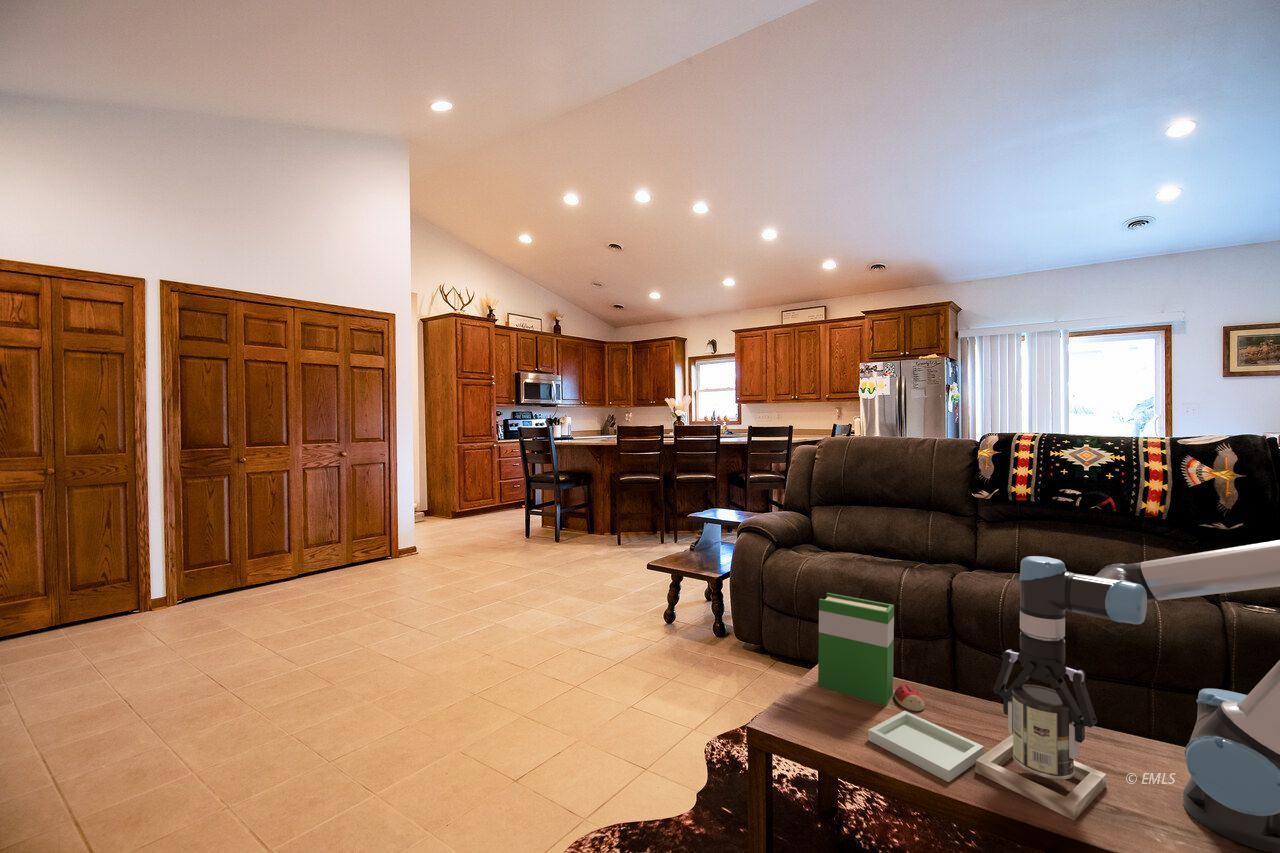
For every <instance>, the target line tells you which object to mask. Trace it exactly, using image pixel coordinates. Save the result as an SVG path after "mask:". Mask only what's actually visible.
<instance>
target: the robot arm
mask: <svg viewBox="0 0 1280 853" xmlns="http://www.w3.org/2000/svg"><path fill="white" fill-rule="evenodd" d="M1019 570H1020V571H1019V578H1018V580H1019V603H1020V604H1019V605H1020V606H1019V629H1020V631H1019V632H1020V633H1019V648H1020V649H1019V652H1015V651H1014V650H1013V649H1009V648H1008V649H1007V650H1004V651H1003V652H1002V664H1001V665H1000V670H999V672H998V674H997V679H996V680H995V684H994V687H993V688H992V690H993V693H994V694H995V695H999V696H1000V697H1001V698H1002V700H1003V701H1002V702H1003V703H1002V708H1003V709H1002V710H1003V714H1004V715H1006V716H1007V733H1008V734H1010V735H1013V694H1012V688H1014V689H1016V690H1017V689H1019V688H1021V687H1022V686H1023V685H1024V684H1026V683H1027V681H1028V680H1029V678H1031V679H1032V680H1037V681H1041V682H1043V683H1045V684H1048V685H1049V684H1050V685H1051V687H1052V688H1051V689H1054V690H1055V691H1056V692H1057V694H1058V696H1059V698H1060V699H1061V701H1062V703H1063V705H1064V706H1067V707H1069V711H1068V714H1069V715H1070V717H1071V719H1072V722H1071V723H1070V724H1069V758H1072V759H1074V760H1075V759H1076V758H1077V757H1078V756H1079V755H1080V744H1082V743H1083V742H1084V741H1085V738H1086V727H1088V728H1092V727H1094V726H1095V725H1096V724H1097V723H1098V719H1097V716H1096V713H1095V709H1094V707H1093V704H1092V701H1091V698H1090V695H1089V692H1088V691H1089V690H1088V688H1087V685H1086V672H1085V671H1084V670H1082V669H1079V670H1076V669H1075V668H1074V669H1073V668H1072V667H1071V668H1070V667H1068V665H1067V663H1066V662H1067V661H1066V639H1065V637H1066V611H1067V612H1070V613H1071V612H1072V613H1077V614H1080V615H1081V614H1082V615H1086V616H1091V617H1096V618H1099V619H1104V620H1109V621H1113V622H1116V623H1125V624H1132V625H1141V624H1142V623H1144V622H1145V619H1146V616H1147V611H1148V610H1147V608H1148V603H1152V602H1159V601H1165V600H1173V599H1174V600H1175V599H1182V598H1192V597H1200V596H1208V595H1216V594H1225V593H1226V594H1227V593H1234V592H1242V591H1243V592H1244V591H1251V590H1253V591H1254V590H1260V589H1270V588H1276V587H1277V588H1278V587H1280V539H1277V540H1271V541H1266V542H1259V543H1251V544H1245V545H1238V546H1234V547H1227V548H1221V549H1215V550H1208V551H1202V552H1196V553H1190V554H1184V555H1178V556H1172V557H1171V556H1170V557H1165V558H1157V559H1152V560H1147V561H1146V560H1145V561H1142V562H1135V563H1134V562H1133V563H1128V564H1125V563H1114V564H1110V565H1107V566H1104V567H1103V568H1101V569H1100V570H1099V571H1098V572H1097V573H1096V574H1095V575H1087V574H1080V573H1074V572H1071V571H1067V568H1066V565H1065V563H1064V562H1063V561H1062V560H1061V559H1058V558H1054V557H1053V558H1052V557H1048V556H1042V555H1041V556H1040V555H1039V556H1038V555H1036V556H1035V555H1033V556H1031V555H1030V556H1026V557H1023V558H1022V559H1021V561H1020V568H1019ZM1017 660H1018V662H1019V663H1020V665H1021V666H1022V667H1023V670H1021V672H1020V673H1018V675H1017V678H1015V680H1014V681H1013V682H1012V684H1011V685H1009V687H1008V688H1007V689H1006V685H1007V683H1008V680H1009V678H1010V675H1011V672H1012V670H1013V667H1014V663H1015V662H1017ZM1065 675H1068V677H1069V681H1071V682H1072V687H1073V690H1074V694H1075V697H1076V698H1077V700H1075V699H1074V697H1073V695H1072V693H1071V692H1070V690H1069V688H1068V686H1067V682H1066V681H1065V679H1064V677H1063V676H1065ZM1076 701H1077V702H1076ZM1077 703H1078V704H1077ZM1196 703H1197V717H1196V721H1195V725H1194V729H1193V731H1192V733H1191V736H1190V739H1189V742H1188V743H1187V744H1186V746H1185V750H1184V757H1185V764H1186V767H1187V770H1188V772H1189V776H1190V778H1189V779H1188V781H1187V783H1186V785H1185V787H1184V789H1183V790H1182V791H1183V793H1182V805H1183V808H1184V809H1185V811H1186V812H1187V813H1188V814H1189V815H1190V816H1191V817H1192V818H1194V819H1195V820H1196V821H1197V822H1199V823H1200V824H1201V825H1203V826H1204V827H1206V828H1208V829H1209V830H1212V831H1213V832H1214V833H1216V834H1219V835H1220V836H1223V837H1225V838H1227V839H1229V840H1231V841H1234V842H1236V843H1238V844H1241V845H1245V846H1246V847H1249V848H1253V849H1256V850H1259V851H1263V852H1267V853H1280V659H1279V660H1278V661H1277V662H1276V664H1275V665H1274V666H1273V667H1272V668H1271V669H1270V670H1269V671H1268V672H1267V673H1266V674H1265V676H1264V677H1263V678H1262V679H1261V680H1260V681H1259V682H1258V683H1257V684H1256V685H1255V686H1254V688H1252V690H1251V691H1250V692H1249V693H1248V694H1243V693H1239V692H1235V691H1230V690H1225V689H1219V688H1202V689H1200V690H1199V692H1198V696H1197V699H1196Z"/></svg>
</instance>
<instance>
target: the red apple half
mask: <svg viewBox="0 0 1280 853" xmlns="http://www.w3.org/2000/svg"><path fill="white" fill-rule="evenodd" d="M893 697H894V700H895V702H897V704H899V705H900V706H901V707H903V708H904V709H906V710H909V711H913V712H920V711H922V710H924V709H925V706H926V703H925V700H924V698H923V696H922V695H921V693H920V692H919V691H918V690H917V689H916V688H914V687H912V686H911V685H908V684H904V683H903V684H900V685H899V686H897V688H896V689H895V691H894V692H893Z"/></svg>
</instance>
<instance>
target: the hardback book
mask: <svg viewBox="0 0 1280 853" xmlns="http://www.w3.org/2000/svg"><path fill="white" fill-rule="evenodd" d="M825 597H826V598H825V599H823V598H819V599H818V658H817V659H818V662H817V663H818V664H817V665H818V666H817V667H818V668H817V669H818V671H817V672H818V673H817V675H818V676H817V677H818V678H817V680H818V681H817V684H818V685H817V687H819V688H823V689H826V690H829V691H834V692H837V693H840V694H843V695H848V696H850V697H855V698H858V699H862V700H865V701H869V702H872V703H875V704H879V705H883V706H886V707H887V706H888V704H889V702H890V701H891V700H892V697H893V696H894V648H895V647H894V646H895V645H894V642H895V641H894V636H895V633H894V630H895V629H894V628H895V604H891V603H885V602H879V601H873V600H869V599H864V598H858V597H854V596H847V595H843V594H837V593H831V592H827V593H826V596H825Z"/></svg>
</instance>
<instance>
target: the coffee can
mask: <svg viewBox="0 0 1280 853" xmlns="http://www.w3.org/2000/svg"><path fill="white" fill-rule="evenodd" d="M1012 694H1013V734H1012V735H1013V757H1012V759H1013V760H1014V761H1015V763H1016V764H1018V766H1020V767H1021V768H1022V769H1025V770H1026V771H1028V772H1030V773H1031V774H1034V775H1036V776H1037V775H1038V776H1040V777H1043V778H1047V779H1053V780H1060V781H1061V780H1068V779H1072V778H1074V777H1073V776H1074V761H1075V759H1072V758H1069V724H1070V723H1071V722H1072V719H1071V717H1070V715H1069V714H1068V711H1069V707H1067V706H1064V705H1063V703H1062V701H1061V699H1060V698H1059V696H1058V694H1057V692H1056V691H1055V690H1054V689H1053V688H1051V687H1046V686H1043V685H1038V684H1037V685H1036V684H1027V683H1024V685H1023V686H1022V687H1021V688H1019V689H1017V690H1016V689H1014V688H1012Z"/></svg>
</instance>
